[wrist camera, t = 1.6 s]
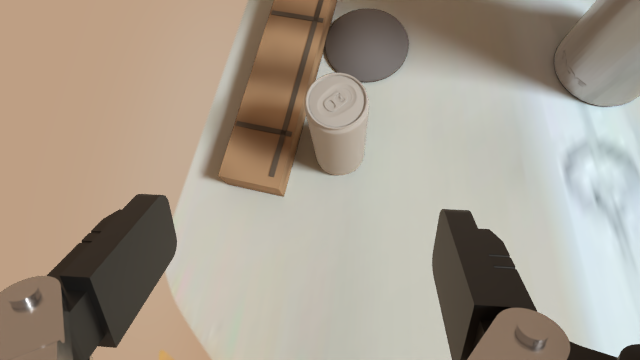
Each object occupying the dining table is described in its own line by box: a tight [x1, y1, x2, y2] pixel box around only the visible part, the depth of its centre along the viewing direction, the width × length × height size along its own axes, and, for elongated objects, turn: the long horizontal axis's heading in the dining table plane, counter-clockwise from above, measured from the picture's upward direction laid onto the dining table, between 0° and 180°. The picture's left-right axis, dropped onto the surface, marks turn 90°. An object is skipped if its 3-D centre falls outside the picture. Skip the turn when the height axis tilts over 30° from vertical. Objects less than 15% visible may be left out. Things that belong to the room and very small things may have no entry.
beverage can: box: [305, 73, 369, 175], centre depth 35 cm, size 5×5×12 cm
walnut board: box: [218, 0, 337, 197], centre depth 42 cm, size 24×6×3 cm, turn 166°
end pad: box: [325, 9, 409, 82], centre depth 44 cm, size 9×9×1 cm
